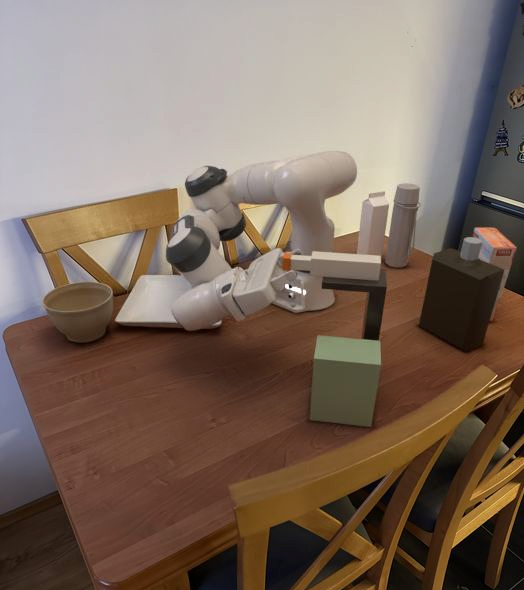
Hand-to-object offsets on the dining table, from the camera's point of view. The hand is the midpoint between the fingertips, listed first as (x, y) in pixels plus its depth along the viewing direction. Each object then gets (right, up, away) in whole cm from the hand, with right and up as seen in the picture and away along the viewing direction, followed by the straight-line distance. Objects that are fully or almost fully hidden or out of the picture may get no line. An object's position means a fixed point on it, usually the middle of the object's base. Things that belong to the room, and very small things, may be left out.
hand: (298, 262), depth 95 cm
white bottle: (+6, -2, 0) cm, 6 cm away
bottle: (+40, -13, +28) cm, 51 cm away
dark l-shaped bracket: (+11, -23, +13) cm, 29 cm away
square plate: (-30, -6, +40) cm, 51 cm away
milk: (+28, +13, +67) cm, 74 cm away
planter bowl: (-52, -13, +29) cm, 61 cm away
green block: (+9, -29, +4) cm, 31 cm away
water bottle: (+37, +10, +63) cm, 74 cm away
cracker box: (+51, -6, +39) cm, 65 cm away
